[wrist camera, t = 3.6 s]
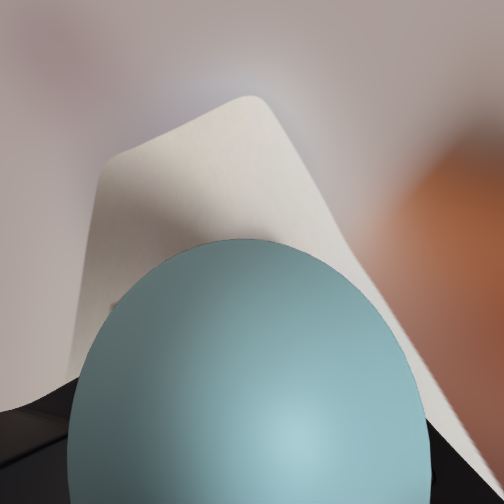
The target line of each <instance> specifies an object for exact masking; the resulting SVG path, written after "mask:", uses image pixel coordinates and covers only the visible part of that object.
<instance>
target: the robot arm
mask: <svg viewBox="0 0 504 504" xmlns="http://www.w3.org/2000/svg"><path fill="white" fill-rule="evenodd" d="M79 377H80V376H79ZM79 377H78V378H76V379H74V380H72V381H71V382H69V383H67V384H65V385H63V386H62V387H60V388H58V389H56V390H55V391H53V392H51V393H49V394H47V395H46V396H44V397H42V398H40V399H38V400H36V401H34V402H32V403H29V404H27V405H24V406H22V407H19V408H15V409H12V410H8V411H4V412H0V504H71V501H70V493H69V485H68V468H67V445H68V432H69V422H70V416H71V410H72V404H73V399H74V395H75V391H76V387H77V384H78V380H79ZM425 419H426V418H425ZM426 424H427V430H428V436H429V441H430V459H431V489H430V504H504V500H503V499H502V498H501V497H500V496H499V495H498V494H497V493H496V492H495V491H494V490H493V489H492V488H491V487H490V486H489V485H488V484H487V483H486V482H485V481H484V480H483V479H482V478H481V477H480V476H479V475H478V473H477V472H476V471H475V470H474V469H473V468H472V467H471V466H470V465H469V464H468V463H467V462H466V461H465V460H464V459H463V458H462V457H461V456H460V455H459V454H458V453H457V452H456V451H455V449H454V448H453V447H452V446H451V445H450V444H449V443H448V442H447V441H446V440H445V439H444V438H443V437H442V436H441V434H440V433H439V432H438V431H437V430H436V429H435V428H434V427H433V426H432V424H431V423H430V422H429V421H428V420H427V419H426Z"/></svg>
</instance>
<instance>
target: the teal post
mask: <svg viewBox="0 0 504 504" xmlns="http://www.w3.org/2000/svg"><path fill="white" fill-rule="evenodd" d="M67 468H68V485H69V493H70V501H71V504H430V489H431V459H430V441H429V436H428V430H427V424H426V419H425V413H424V408H423V405H422V401H421V398H420V395H419V391H418V388H417V384H416V381H415V378H414V376H413V374H412V371H411V369H410V366H409V364H408V362H407V359H406V357H405V354H404V352H403V351H402V349H401V347H400V345H399V343H398V342H397V340H396V338H395V336H394V334H393V333H392V331H391V329H390V328H389V326H388V325H387V323H386V322H385V321H384V319H383V318H382V316H381V315H380V314H379V312H378V311H377V309H376V308H375V307H374V306H373V305H372V304H371V303H370V301H369V300H368V299H367V298H366V297H365V296H364V295H363V294H362V292H361V291H360V290H359V289H358V288H356V287H355V286H354V285H353V284H352V283H351V282H350V281H348V280H347V279H346V278H345V277H344V276H343V275H342V274H340V273H339V272H337V271H336V270H334V269H333V268H331V267H330V266H329V265H327V264H326V263H324V262H322V261H320V260H319V259H317V258H315V257H313V256H311V255H309V254H307V253H305V252H302V251H300V250H297V249H295V248H292V247H290V246H286V245H282V244H278V243H274V242H270V241H263V240H255V239H231V240H223V241H215V242H211V243H207V244H203V245H199V246H197V247H194V248H191V249H189V250H186V251H184V252H181V253H179V254H177V255H175V256H174V257H172V258H170V259H168V260H166V261H164V262H163V263H161V264H160V265H159V266H157V267H156V268H154V269H153V270H151V271H150V272H149V273H147V274H146V275H145V276H144V277H143V278H142V279H140V280H139V281H138V282H137V283H136V284H135V285H134V286H133V287H132V288H131V289H130V290H129V291H128V292H127V293H126V294H125V295H124V296H123V297H122V299H121V300H120V301H119V303H118V304H117V305H116V306H115V308H114V309H113V310H112V312H111V313H110V314H109V316H108V318H107V319H106V321H105V322H104V324H103V326H102V327H101V329H100V330H99V332H98V334H97V336H96V338H95V340H94V342H93V344H92V346H91V348H90V350H89V352H88V355H87V357H86V360H85V363H84V365H83V368H82V371H81V373H80V377H79V380H78V384H77V387H76V391H75V395H74V399H73V404H72V410H71V416H70V422H69V432H68V445H67Z"/></svg>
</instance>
